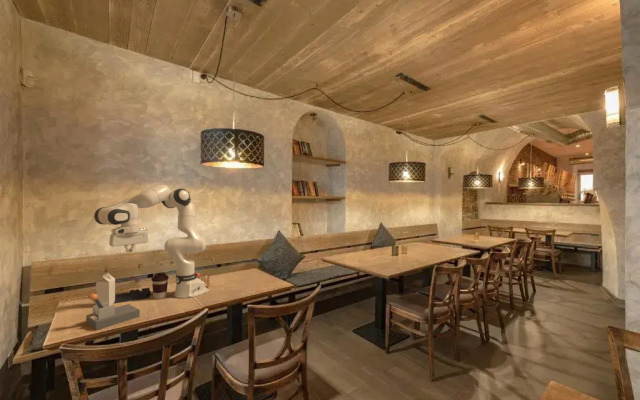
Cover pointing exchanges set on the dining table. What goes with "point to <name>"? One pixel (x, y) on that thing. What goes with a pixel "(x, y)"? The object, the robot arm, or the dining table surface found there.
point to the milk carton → (106, 289)
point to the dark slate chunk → (132, 295)
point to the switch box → (111, 315)
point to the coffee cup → (160, 285)
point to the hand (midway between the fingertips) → (129, 252)
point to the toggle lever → (95, 300)
